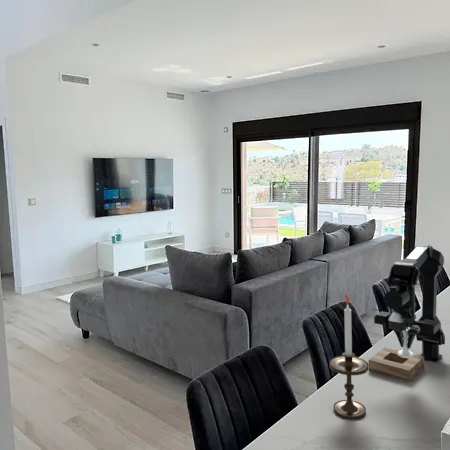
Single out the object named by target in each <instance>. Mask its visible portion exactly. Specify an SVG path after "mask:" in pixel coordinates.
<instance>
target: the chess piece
mask: <svg viewBox="0 0 450 450" xmlns="http://www.w3.org/2000/svg"><path fill="white" fill-rule="evenodd" d="M408 330H409V327H408V328H406V330H405V331H402V333H403V336H404V337H402V339H403V340H404V345H403V347H402V349H401V350H399V351H398V356H400V357H402V358H413V357H414V354H415V353H414V352H413V351H411V350H409V349H408V332H407V331H408Z"/></svg>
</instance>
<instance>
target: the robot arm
mask: <svg viewBox="0 0 450 450" xmlns="http://www.w3.org/2000/svg"><path fill="white" fill-rule="evenodd" d="M444 264H445V257H444V255H443V253H442V252H441V251H439V250H437V249H435V248H434V247H433V246H432V245H430V244H416V245H415V247H414V249H413V250H412V251H411V252H410V253H409V255H407V257H405V258H404V259H399V260H396V261H395V262H394V263H393V264H392V266H391V268H390V272H389V276H388V280H387V286H390V287H389V290H388V291H387V292H386V293H385V294H384V296H383V303H384V305H386V307H387V308H388V309H390V310H392V311H393V312H392V313H391V312H387V311H380V312H378V313H376V314H375V315H374V317H373V323H374V324H377V325H381V326H383V325H384V324H386V322H387V323H388V328H389V329H391V330H392V331H393V332H394V333H395V335H396V338H397V340H398V342H399V346H400V347H401V348H403V345H404V340H403V339H402V337H404V336H403V333H402V331H405V330H407V332H408V336H407V337H408V340H407V343H408V349H411V348H412V344H413V342H414V340H415V338H416V341H419V342H421V353H420V354H419V355H420V356H424V360H427V361H432V362H437V363H438V362H439V361H440V359H442V357H443V355H442V354H440V346H442V345H445V344H446V335H445V333H444V331H443V328H442V322H441V321H440V319H439V318H438V316H437V292H438V291H437V288H438V287H437V286H438V284H437V282H438V275H439V274H440V272H441V271H442V270H443V266H444ZM420 275H422V300H421V301H422V304H421V305H422V307H421V310H422V311H421V316H420V318H419V319H418V320H416V319H417V315H416V307H417V303H416V289H415V287H416V285H417V284H418V281H419V278H420ZM406 328H408V329H406Z"/></svg>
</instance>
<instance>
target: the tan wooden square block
mask: <svg viewBox="0 0 450 450" xmlns="http://www.w3.org/2000/svg"><path fill="white" fill-rule="evenodd" d="M398 351H400V350H399V349H394V348H391V347H387V346H385V347H383V348H381V349H380V350H379V351H378V352H377V353H375V354H374V355H372V357H370V358H368V361H367V362H368V371H369V372H373V373H375V372H376V374H380V375H382V374H383V375H384V376H386V375H387V376H386V377H390V378H393V377H394V379H397V380H400V379H401V381H404V382H408V383H410V382H412V381H413V379H414V378H415V377H416V376H417V375H418V374H419V373H420V372H421V371H422V370H423V369H424V368H425V359H424V356H420V354H415V353H414V357H413V358H402V357H400V356H398ZM383 375H382V376H383Z"/></svg>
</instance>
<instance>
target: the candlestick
mask: <svg viewBox="0 0 450 450" xmlns="http://www.w3.org/2000/svg"><path fill="white" fill-rule="evenodd" d="M345 298H346V299H345V300H346V303H345V304H346V306H345V308H344V310H343V311H344V312H343V313H344V314H343V315H344V352H342V353H341V355H339V356H335V357H333V358H331V359H330V360H329V369H330V370H331V371H333V372H334V373H337V374H340V375H345V376H346V383H344V385H343V387H344V389H345V390H346V392H345V393H344V395H345V396H346V399H342V400H338V401H337V402H335V403H334V404H333V412H334V413H335V414H336V415H337V416H338V417H341V418H342V419H347V420H359V419H362V418H364V417H365V416H366V413H367V412H366V411H367V409H366V407H365V405H364V404H362V403H361V402H358V401H356V400H353V397H354V392H353V390H354V389H355V385H354V384H353V383H352V376H359V375H363V374H366V373H368V371H369V362H368V361H366V360H365V359H363V358H361V357H359V356H357V354H356V353H354V352H353V335H352V330H353V329H352V328H353V327H352V309H351V308H350V305H349V303H350V299H349V297H348V293H345Z"/></svg>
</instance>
